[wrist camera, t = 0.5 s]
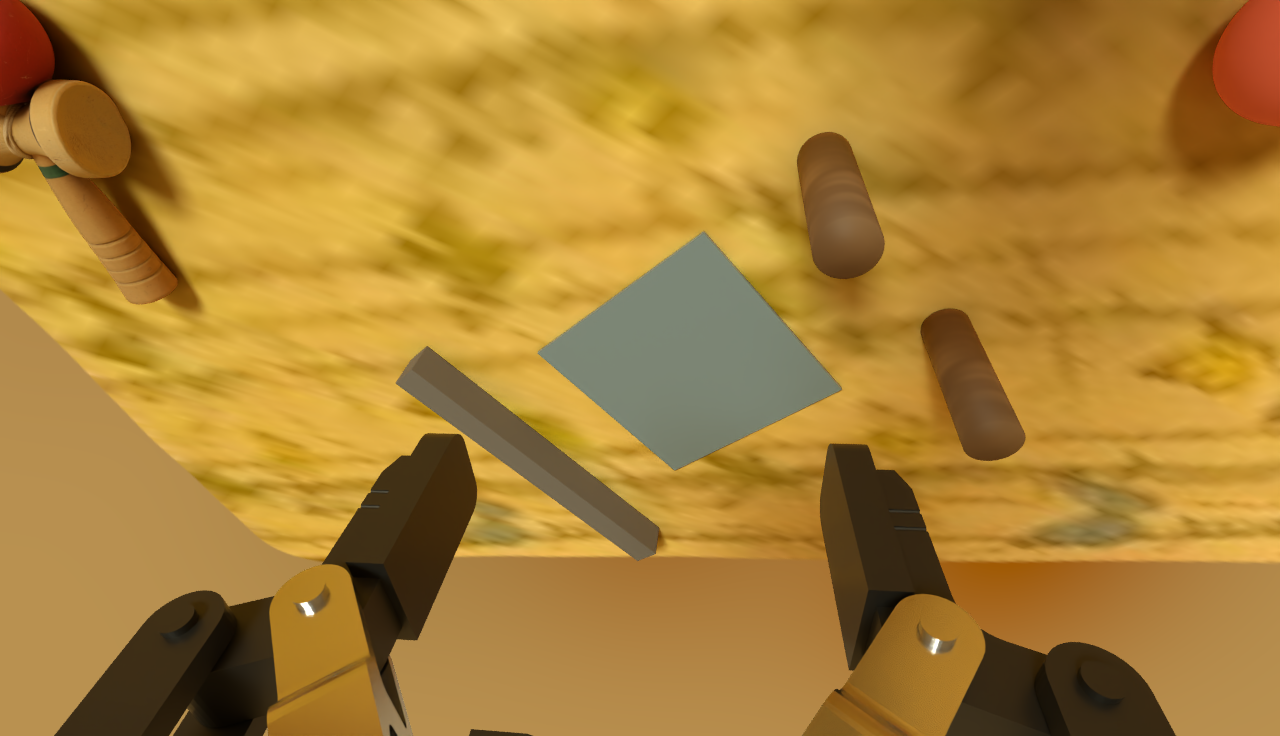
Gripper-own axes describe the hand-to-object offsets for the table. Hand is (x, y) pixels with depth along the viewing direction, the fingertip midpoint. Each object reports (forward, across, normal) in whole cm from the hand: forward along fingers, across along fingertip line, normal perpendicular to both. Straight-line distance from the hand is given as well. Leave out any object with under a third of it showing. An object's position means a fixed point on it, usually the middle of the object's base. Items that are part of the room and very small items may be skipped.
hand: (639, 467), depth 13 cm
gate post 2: (+22, -15, +9) cm, 28 cm away
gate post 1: (+21, -7, -1) cm, 22 cm away
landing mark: (+23, 0, +13) cm, 26 cm away
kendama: (+23, +34, -2) cm, 41 cm away
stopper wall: (+24, +11, +21) cm, 34 cm away
